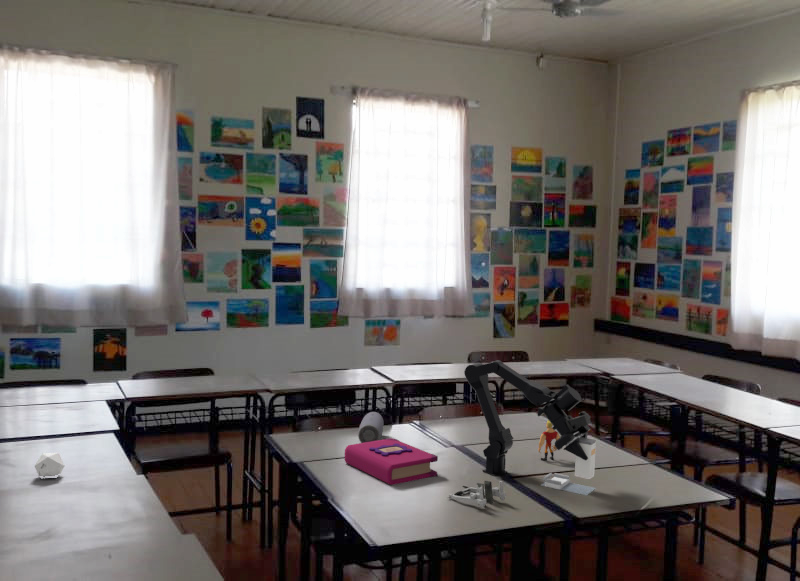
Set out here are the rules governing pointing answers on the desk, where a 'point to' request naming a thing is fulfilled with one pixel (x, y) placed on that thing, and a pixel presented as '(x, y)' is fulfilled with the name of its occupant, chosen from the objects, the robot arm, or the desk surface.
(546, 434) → the action figure
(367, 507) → the desk surface
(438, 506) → the desk surface
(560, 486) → the din rail board
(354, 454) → the book
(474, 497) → the bike brake
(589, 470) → the relay module
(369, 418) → the bluetooth speaker
